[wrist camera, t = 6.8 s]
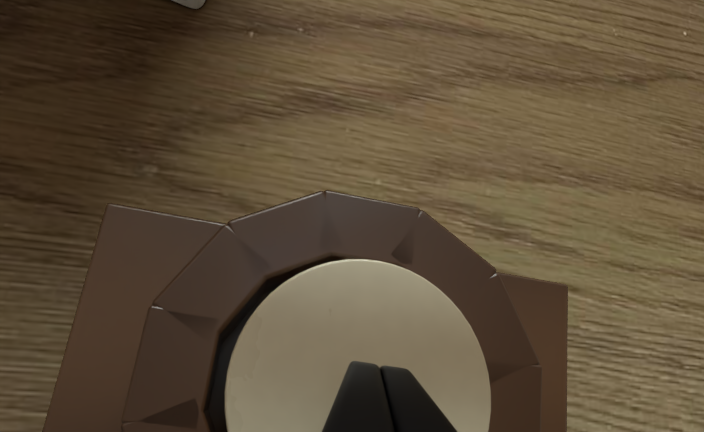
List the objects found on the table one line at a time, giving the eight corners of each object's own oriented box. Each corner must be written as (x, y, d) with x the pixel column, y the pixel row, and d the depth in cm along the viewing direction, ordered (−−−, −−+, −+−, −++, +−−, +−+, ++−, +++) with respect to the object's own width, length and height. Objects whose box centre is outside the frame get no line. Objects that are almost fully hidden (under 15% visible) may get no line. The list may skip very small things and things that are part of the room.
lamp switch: (431, 524, 10) (485, 559, 8) (204, 499, 10) (196, 530, 8) (448, 302, 12) (498, 280, 9) (249, 269, 11) (252, 237, 9)
